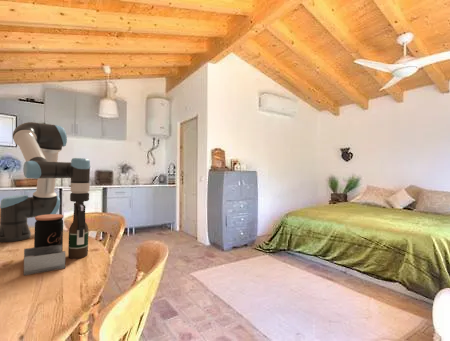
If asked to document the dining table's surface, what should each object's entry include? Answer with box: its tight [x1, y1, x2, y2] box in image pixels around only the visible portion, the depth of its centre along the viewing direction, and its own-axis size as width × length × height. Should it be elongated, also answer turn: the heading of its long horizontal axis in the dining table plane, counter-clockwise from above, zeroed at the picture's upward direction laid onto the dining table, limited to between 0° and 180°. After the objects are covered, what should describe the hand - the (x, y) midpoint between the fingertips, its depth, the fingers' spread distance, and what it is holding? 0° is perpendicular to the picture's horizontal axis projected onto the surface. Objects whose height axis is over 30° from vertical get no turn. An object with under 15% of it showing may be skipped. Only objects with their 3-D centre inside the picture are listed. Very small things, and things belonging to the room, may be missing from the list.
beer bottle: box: [67, 202, 89, 260], centre depth 118 cm, size 8×8×24 cm
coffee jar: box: [33, 213, 64, 251], centre depth 117 cm, size 11×11×18 cm
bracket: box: [23, 244, 66, 276], centre depth 105 cm, size 13×13×6 cm
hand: (78, 241), depth 118 cm, fingers open, 9 cm apart
